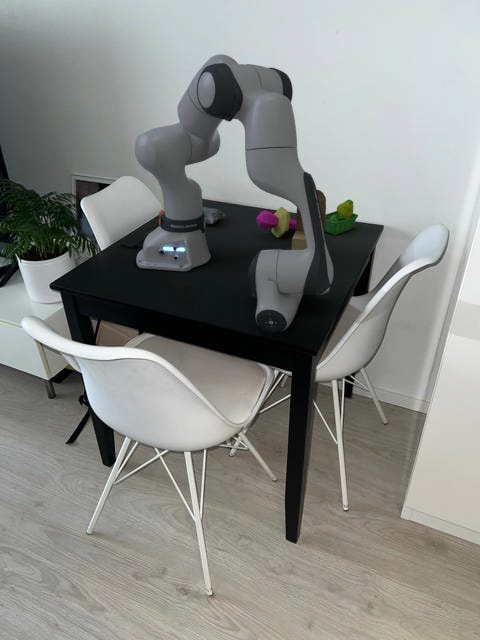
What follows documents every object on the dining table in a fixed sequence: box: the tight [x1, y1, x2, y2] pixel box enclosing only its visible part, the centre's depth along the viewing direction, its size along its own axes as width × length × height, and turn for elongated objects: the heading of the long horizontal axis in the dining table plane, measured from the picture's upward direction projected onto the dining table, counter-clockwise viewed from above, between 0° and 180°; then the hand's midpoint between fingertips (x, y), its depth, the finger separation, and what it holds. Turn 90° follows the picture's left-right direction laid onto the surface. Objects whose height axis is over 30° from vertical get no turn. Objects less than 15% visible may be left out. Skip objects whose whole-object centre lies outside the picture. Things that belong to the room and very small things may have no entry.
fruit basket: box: [325, 199, 359, 236], centre depth 169 cm, size 11×9×11 cm
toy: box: [256, 206, 296, 239], centre depth 168 cm, size 10×18×10 cm, turn 108°
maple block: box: [291, 230, 307, 250], centre depth 144 cm, size 6×6×11 cm
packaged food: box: [203, 206, 226, 225], centre depth 179 cm, size 9×12×5 cm
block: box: [295, 189, 327, 232], centre depth 150 cm, size 11×8×20 cm
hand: (296, 264), depth 136 cm, fingers open, 8 cm apart
